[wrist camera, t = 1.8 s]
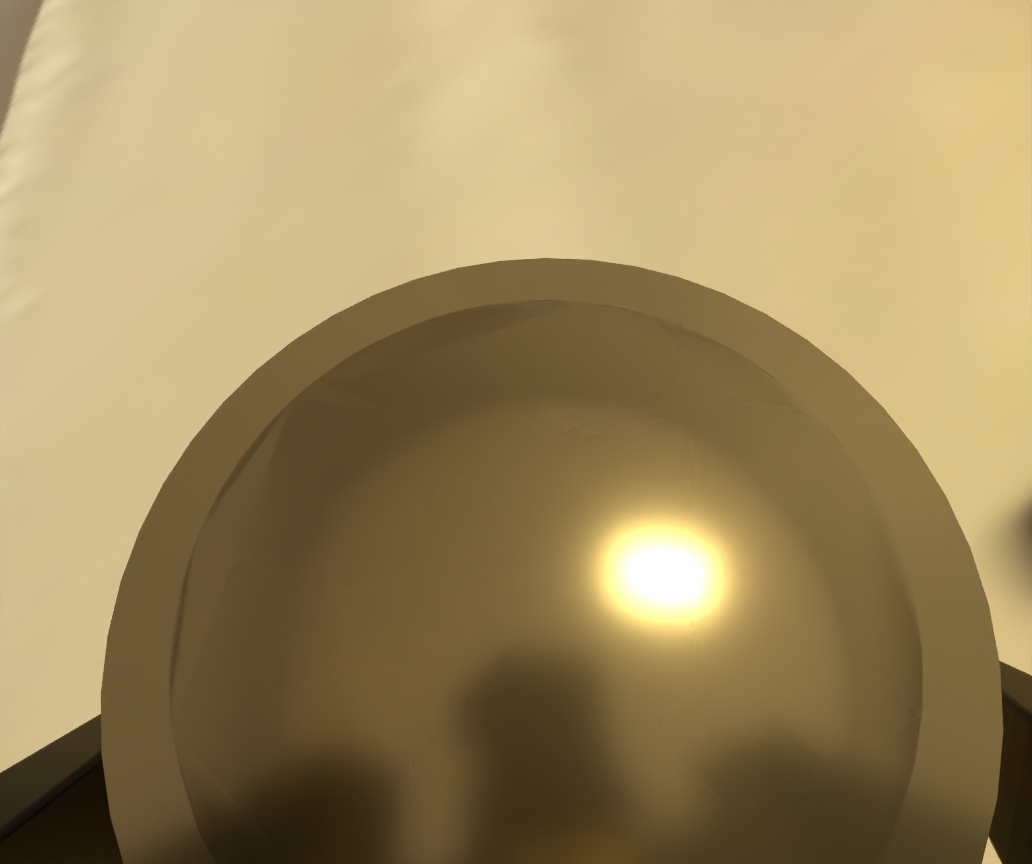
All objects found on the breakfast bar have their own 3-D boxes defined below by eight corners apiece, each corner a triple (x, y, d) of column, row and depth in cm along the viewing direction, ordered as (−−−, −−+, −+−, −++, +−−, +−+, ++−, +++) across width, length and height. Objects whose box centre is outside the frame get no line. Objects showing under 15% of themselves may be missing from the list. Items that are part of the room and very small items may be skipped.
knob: (633, 958, 14) (880, 1514, 3) (399, 827, 15) (-94, 826, 4) (718, 699, 16) (1063, 395, 5) (506, 603, 18) (380, 185, 6)
